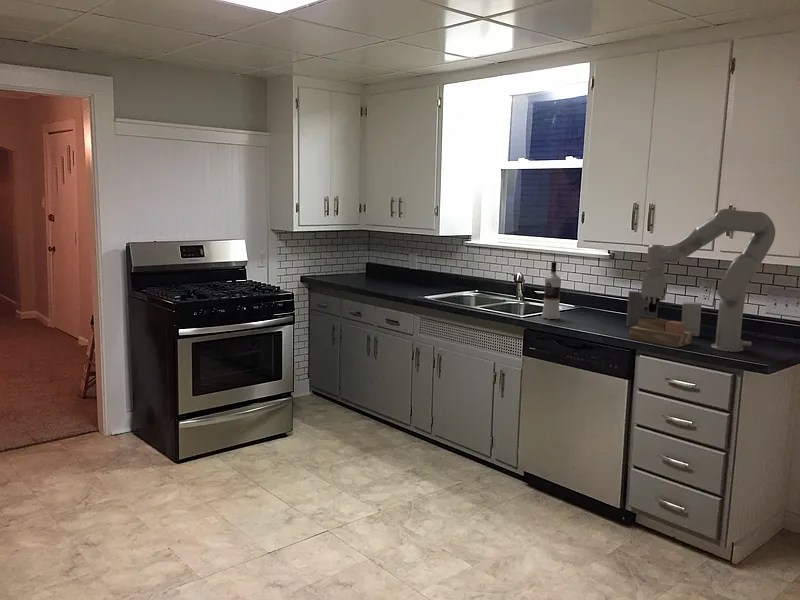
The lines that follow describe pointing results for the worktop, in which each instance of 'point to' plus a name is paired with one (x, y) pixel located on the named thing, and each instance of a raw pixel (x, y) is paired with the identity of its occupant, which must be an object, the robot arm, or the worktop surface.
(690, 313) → the skincare box
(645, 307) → the t-key bolt
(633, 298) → the hip flask
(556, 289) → the vodka
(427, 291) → the worktop surface
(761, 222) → the robot arm
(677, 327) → the cover cap
